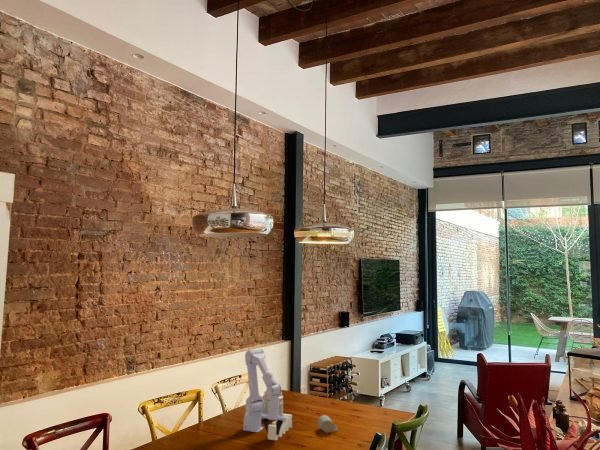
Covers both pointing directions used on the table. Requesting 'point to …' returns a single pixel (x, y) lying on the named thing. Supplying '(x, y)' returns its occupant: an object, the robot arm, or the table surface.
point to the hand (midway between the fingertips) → (272, 433)
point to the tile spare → (272, 432)
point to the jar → (267, 404)
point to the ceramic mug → (326, 424)
